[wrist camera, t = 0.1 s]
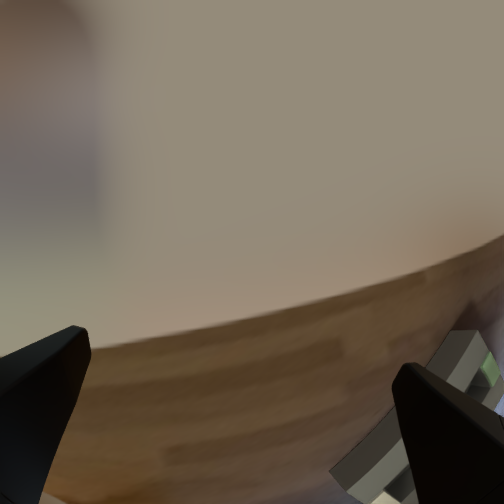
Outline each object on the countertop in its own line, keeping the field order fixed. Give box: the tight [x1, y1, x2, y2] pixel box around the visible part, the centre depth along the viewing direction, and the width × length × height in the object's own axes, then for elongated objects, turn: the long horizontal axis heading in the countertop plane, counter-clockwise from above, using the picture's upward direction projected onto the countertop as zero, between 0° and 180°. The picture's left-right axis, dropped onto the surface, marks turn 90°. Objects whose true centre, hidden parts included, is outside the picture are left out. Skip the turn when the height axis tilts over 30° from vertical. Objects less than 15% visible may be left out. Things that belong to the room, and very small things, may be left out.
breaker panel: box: [329, 330, 504, 504], centre depth 19 cm, size 18×10×4 cm, turn 132°
